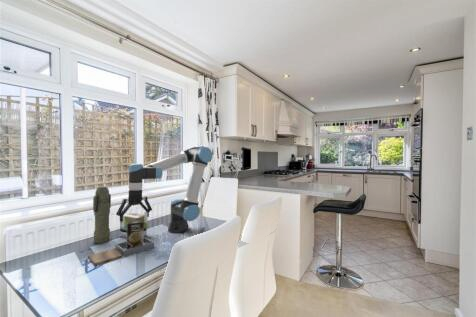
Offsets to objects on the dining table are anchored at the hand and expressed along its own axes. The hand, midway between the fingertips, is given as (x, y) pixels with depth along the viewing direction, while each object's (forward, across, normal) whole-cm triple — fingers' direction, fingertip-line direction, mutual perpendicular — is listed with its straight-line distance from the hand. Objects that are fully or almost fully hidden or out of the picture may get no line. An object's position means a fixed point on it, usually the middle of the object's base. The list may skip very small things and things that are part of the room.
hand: (134, 224), depth 134 cm
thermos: (+15, +10, -27) cm, 32 cm away
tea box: (+14, -8, -22) cm, 28 cm away
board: (+14, +16, +1) cm, 22 cm away
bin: (+14, 0, 0) cm, 14 cm away
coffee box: (+14, 0, 0) cm, 15 cm away
